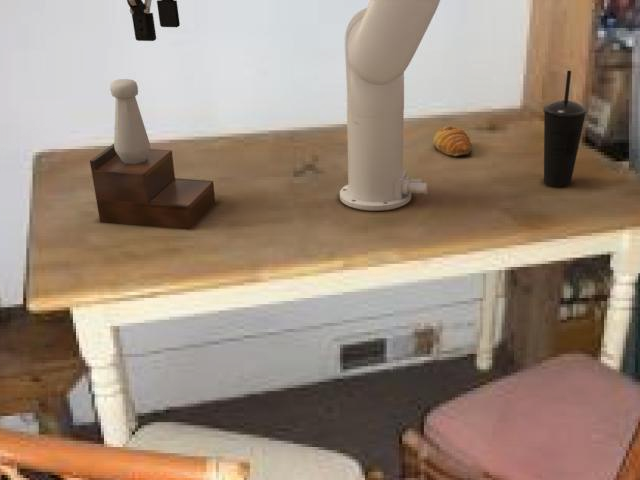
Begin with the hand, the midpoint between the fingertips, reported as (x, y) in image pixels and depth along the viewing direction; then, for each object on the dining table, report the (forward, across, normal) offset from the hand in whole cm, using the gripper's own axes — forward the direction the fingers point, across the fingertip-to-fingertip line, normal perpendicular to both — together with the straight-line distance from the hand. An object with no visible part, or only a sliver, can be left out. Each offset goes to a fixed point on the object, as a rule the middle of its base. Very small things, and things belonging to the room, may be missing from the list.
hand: (158, 33), depth 147 cm
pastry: (+30, +38, -43) cm, 64 cm away
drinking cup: (+30, +23, -64) cm, 74 cm away
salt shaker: (+20, -4, +6) cm, 21 cm away
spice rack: (+28, -4, +3) cm, 29 cm away
